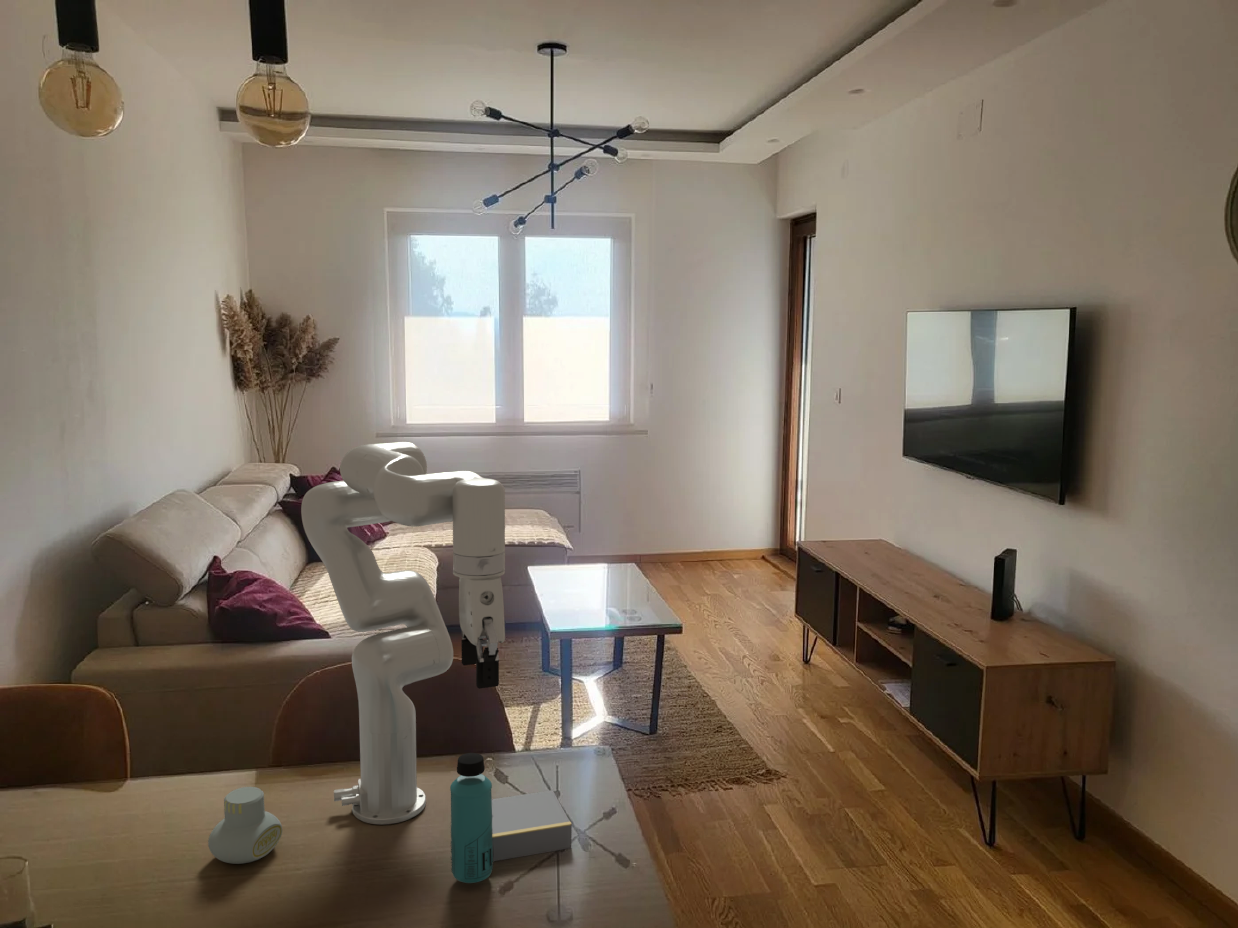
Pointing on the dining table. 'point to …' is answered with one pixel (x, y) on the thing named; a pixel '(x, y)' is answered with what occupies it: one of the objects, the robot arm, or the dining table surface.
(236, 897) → the dining table surface
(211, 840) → the air freshener
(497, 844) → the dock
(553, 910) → the dining table surface
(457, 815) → the beverage bottle
